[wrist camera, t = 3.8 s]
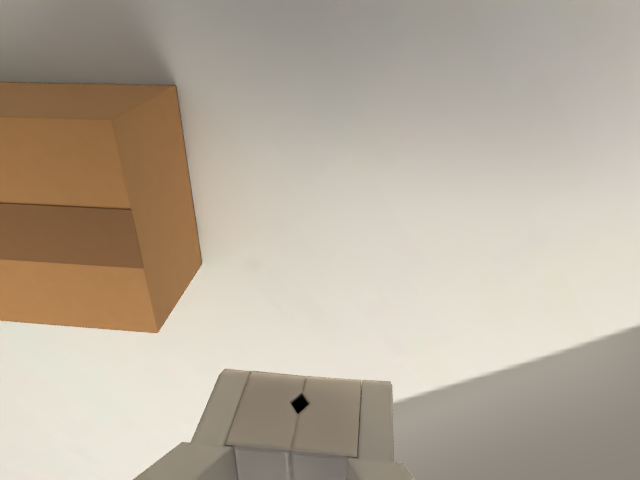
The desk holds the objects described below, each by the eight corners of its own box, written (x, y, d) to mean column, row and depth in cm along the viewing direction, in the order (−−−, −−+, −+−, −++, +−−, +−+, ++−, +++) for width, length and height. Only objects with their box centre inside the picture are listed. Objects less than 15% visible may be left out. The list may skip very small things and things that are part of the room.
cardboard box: (176, 85, 15) (111, 119, 11) (202, 264, 18) (157, 335, 15) (-45, 81, 16) (-170, 111, 12) (17, 252, 19) (-69, 317, 15)
